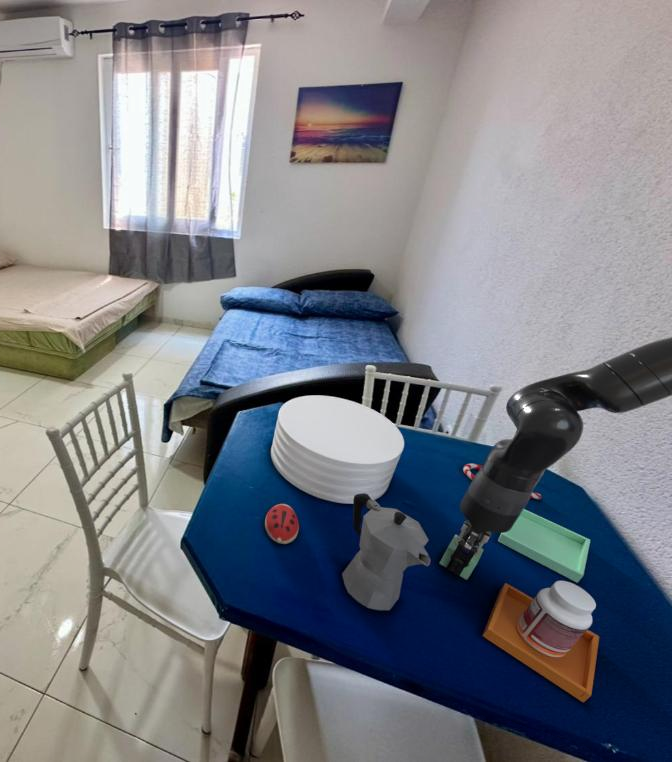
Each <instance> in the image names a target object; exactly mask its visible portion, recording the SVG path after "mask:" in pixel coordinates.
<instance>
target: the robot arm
mask: <svg viewBox="0 0 672 762" xmlns="http://www.w3.org/2000/svg"><path fill="white" fill-rule="evenodd" d="M670 397H672V336H671V337H665V338H662V339H658V340H655V341H652V342H649V343H646V344H643V345H640V346H638V347H635V348H633V349H630V350H627V351H626V352H623V353H621V354H619V355H616V356H613V357H612V358H610V359H608V360H605V361H603V362H600V363H598V364H596V365H594V366H592V367H590V368H587V369H584V370H579V371H575V372H569V373H564V374H562V375H557V376H554V377H550V378H546V379H542V380H539V381H535V382H533V383H529V384H528V385H526V386H523V387H522V388H520V389H519V390H517V391H516V392H514V393H513V394H512V395H511V396H510V397H509V399H508V400H507V402H506V405H505V409H506V414H507V415H508V417H509V419H510V420H511V422H512V423H513V425H514V427H515V429H516V431H515V433H514V434H515V435H514V436H513V437H512V438H505V439H501V440H498V441H497V442H496V443H494V445H493V446H492V448H491V449H490V451H489V453H488V454H487V456H486V458H485V460H484V462H483V464H482V465H481V466H482V467H481V469H480V470H478V471H477V472H476V474H475V477H474V479H473V480H471V483H470V484H469V486H468V488H467V490H466V492H465V493H464V495H463V497H462V500H461V501H460V503H459V509H460V512H461V514H462V516H463V517H465V520H464V522H463V524H462V526H461V528H460V533H459V535H458V536H459V537H458V539H457V540H456V542H455V544H456V545H457V548H456V550H455V551H453V553H452V554H453V555H451V556H450V557H451V560H450V562H449V563H448V565H447V567H445V568H446V570H447V571H448V572H450V573H452V574H453V575H454V576H458V577H461V576H460V574H461V572H462V571H463V569H464V567H465V568H466V567H468V566H469V563H470V561H471V559H472V557H473V556H474V555H478V553H479V551H480V549H481V548H482V549H483V546H484V544H487V543H488V541H489V539H490V538H491V535H492V533H496V534H501V533H505V532H508V531H509V530H511V528H512V527H513V525H514V524H515V522H516V520H517V519H518V517H519V516H520V514H521V513H522V511H523V509H525V508H526V506H527V505H528V503H529V502H530V500H531V498H530V497H531V494H532V493H534V490H535V488H536V486H537V485H538V484H539V482H540V480H541V479H542V478H543V476H544V473H545V471H546V470H547V469H549V468H550V467H552V466H553V465H554V464H556V463H557V462H558V461H560V459H562V458H563V457H564V456H566V454H568V453H569V452H570V451H572V449H574V447H575V446H577V444H578V442H579V441H580V439H581V437H582V435H583V433H584V419H583V418H582V416H581V414H580V413H579V412H581V411H586V410H592V409H601V410H604V411H606V412H609V413H612V414H624V413H628V412H631V411H634V410H637V409H640V408H642V407H645V406H649V405H650V404H653V403H656V402H658V401H660V400H663V399H666V398H670ZM462 538H463V540H462ZM475 546H478V547H475Z"/></svg>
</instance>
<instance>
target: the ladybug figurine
mask: <svg viewBox="0 0 672 762" xmlns="http://www.w3.org/2000/svg"><path fill="white" fill-rule="evenodd" d="M264 528H265V531H266V533H267V535H268V536H269V538H270V539H271V540H272V541H274V542H276V543H277V544H283V545H287V544H290V543H292V542H293V541H294V540H295V539H296V538H297V536H298V534H299V529H300V524H299V519H298V516H297V514H296V512H295V511H294V509H293V508H292V507H291V506H290V505H288V504H286V503H279V504H276V505H274V506H273V507H271V509H269V510H268V512H267V514H266V516H265V519H264Z"/></svg>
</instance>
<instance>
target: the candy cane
mask: <svg viewBox="0 0 672 762" xmlns="http://www.w3.org/2000/svg"><path fill="white" fill-rule="evenodd" d="M482 466H483V465H481V464H477V463H467V464H465V465H464V466H463V468H462V470H463V473H464V474H465V476H466V477H467V478H468V479H469V480H471V481H472V480H473V479H474V477H475V475H476V474H475V475H474V474H473V473H472V472H471V470H472V469H473V470H478V471H479V470H480V469H481V467H482ZM530 499H533V500H535V499H536V500H541V499H542V495H541V494H540V493H538V492H532V494H531V497H530Z"/></svg>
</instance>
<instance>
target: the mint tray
mask: <svg viewBox="0 0 672 762" xmlns="http://www.w3.org/2000/svg"><path fill="white" fill-rule="evenodd" d="M497 542H498V543H500V544H502V545H504V546H506V547H508V548H510V549H512V550H514V551H515V552H517V553H519V554H521V555H523V556H525V557H526V558H529V559H531V560H533V561H535V562H537V563H539V564H540V565H541V566H544V567H546V568H548V569H550V570H551V571H554V572H556V573H558V574H559V575H562V576H564V577H565V578H567V579H569V580H571V581H572V582H575V583H576V584H578V583H579V582H580V580H581V579H582V578H583V577H584V575H585V570H586V564H587V560H588V554H589V549H590V544H591V539H589V538H587V537H586V536H583V535H581V534H579V533H577V532H574V531H573V530H570V529H569V528H566V527H564V526H562V525H559V524H558V523H555V522H553V521H551V520H549V519H548V518H547V519H546V518H544V517H542V516H540V515H538V514H537V513H534V512H531V511H529V510H527V509H525V508H524V509H523V511H522V513H521V514H520V516H519V517H518V519H517V520H516V522H515V524H514V525H513V527H512V528H511V530H509V531H508V532H505V533H500V535H499V537H498V539H497Z"/></svg>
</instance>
